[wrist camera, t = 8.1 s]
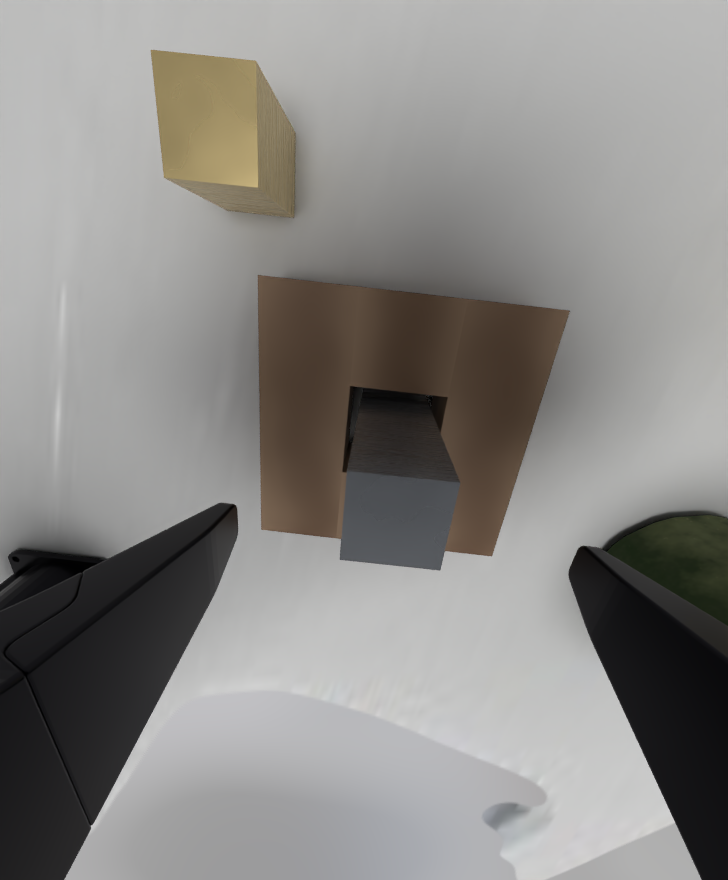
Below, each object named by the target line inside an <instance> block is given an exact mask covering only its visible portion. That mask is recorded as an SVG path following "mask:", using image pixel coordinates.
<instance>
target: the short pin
mask: <svg viewBox="0 0 728 880" xmlns="http://www.w3.org/2000/svg"><path fill="white" fill-rule="evenodd" d="M151 57H152V66H153V76H154V86H155V95H156V105H157V114H158V124H159V133H160V143H161V152H162V162H163V171H164V178H166V179H167V180H169V181H171V182H173V183H175V184H177V185H179V186H181V187H183V188H185V189H187V190H189V191H191V192H193V193H194V194H196V195H198V196H200V197H202V198H204V199H206V200H208V201H210V202H212V203H214V204H216V205H218V206H220V207H221V208H223V209H225V210H227V211H235V212H245V213H254V214H264V215H273V216H283V217H292V218H294V195H295V131H294V130H293V128H292V126H291V124H290V122H289V120H288V119H287V117H286V115H285V113H284V111H283V109H282V108H281V106H280V104H279V102H278V100H277V98H276V97H275V95H274V93H273V91H272V89H271V87H270V86H269V84H268V82H267V80H266V78H265V76H264V75H263V73H262V71H261V69H260V67H259V65H258V64H257V62H256V61H253V60H243V59H234V58H224V57H214V56H205V55H195V54H186V53H176V52H167V51H157V50H151Z"/></svg>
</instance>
